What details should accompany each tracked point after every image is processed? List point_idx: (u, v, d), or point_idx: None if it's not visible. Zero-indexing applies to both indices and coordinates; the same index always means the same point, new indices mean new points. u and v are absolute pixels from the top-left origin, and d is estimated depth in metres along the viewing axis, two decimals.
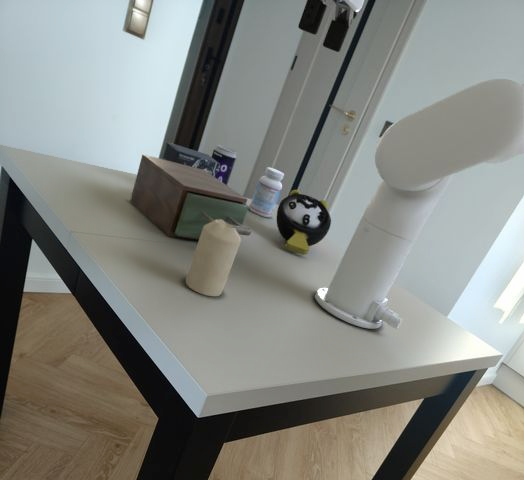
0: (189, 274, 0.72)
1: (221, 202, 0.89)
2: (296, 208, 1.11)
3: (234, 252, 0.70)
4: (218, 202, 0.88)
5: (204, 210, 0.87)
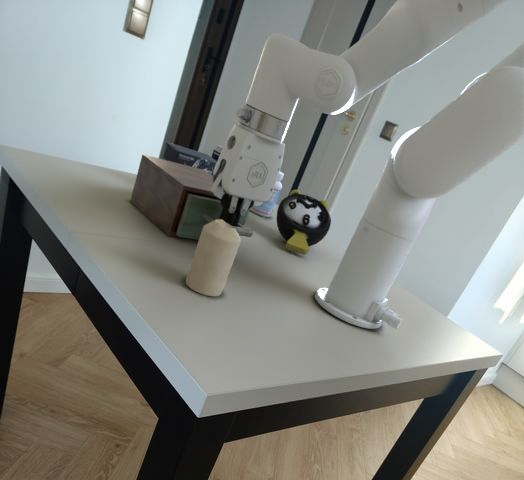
0: (189, 274, 0.72)
1: None
2: (296, 208, 1.11)
3: (234, 252, 0.70)
4: (220, 203, 0.88)
5: (206, 211, 0.87)
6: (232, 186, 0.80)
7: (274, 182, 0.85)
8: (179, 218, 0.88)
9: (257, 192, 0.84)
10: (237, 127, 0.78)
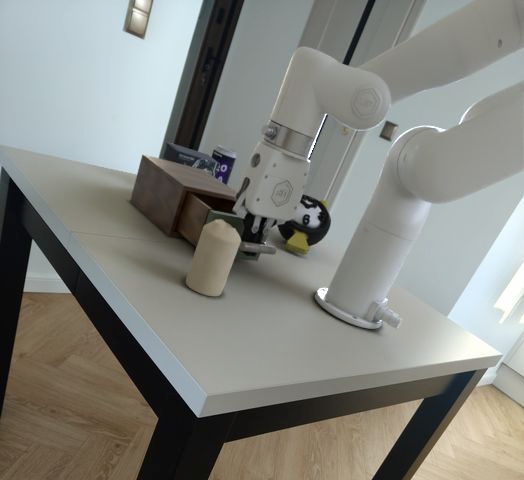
0: (189, 274, 0.72)
1: None
2: None
3: (234, 252, 0.70)
4: None
5: None
6: (256, 206, 0.76)
7: (298, 200, 0.81)
8: (199, 235, 0.84)
9: (281, 211, 0.80)
10: (262, 144, 0.74)
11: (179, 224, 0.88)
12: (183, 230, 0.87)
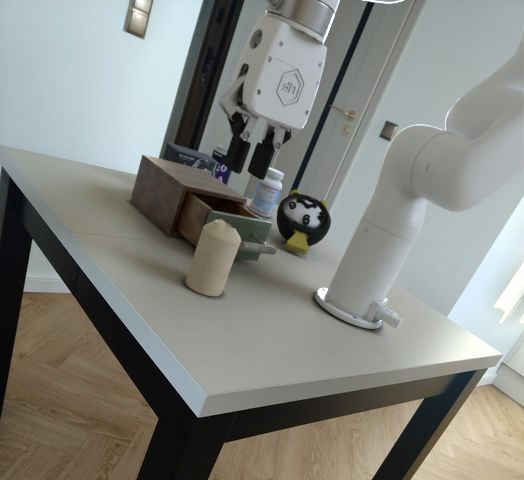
0: (189, 274, 0.72)
1: (245, 219, 0.84)
2: (296, 208, 1.11)
3: (234, 252, 0.70)
4: (242, 219, 0.84)
5: None
6: (257, 101, 0.59)
7: (311, 102, 0.63)
8: (199, 235, 0.84)
9: (289, 115, 0.62)
10: (264, 17, 0.57)
11: (179, 224, 0.88)
12: (183, 230, 0.87)
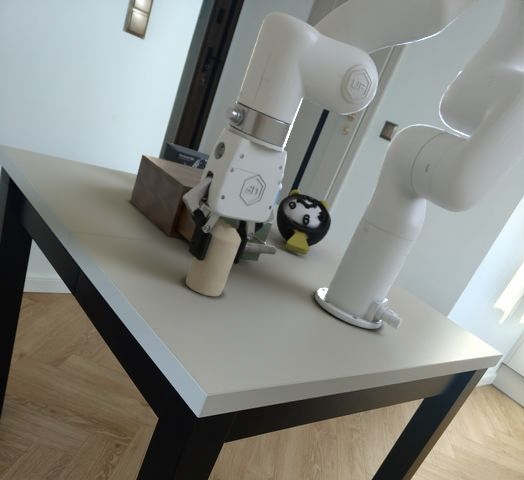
0: (189, 274, 0.72)
1: None
2: (296, 208, 1.11)
3: (234, 252, 0.70)
4: None
5: None
6: (221, 205, 0.64)
7: (273, 198, 0.69)
8: None
9: (253, 212, 0.68)
10: (227, 131, 0.62)
11: (179, 224, 0.88)
12: (183, 230, 0.87)
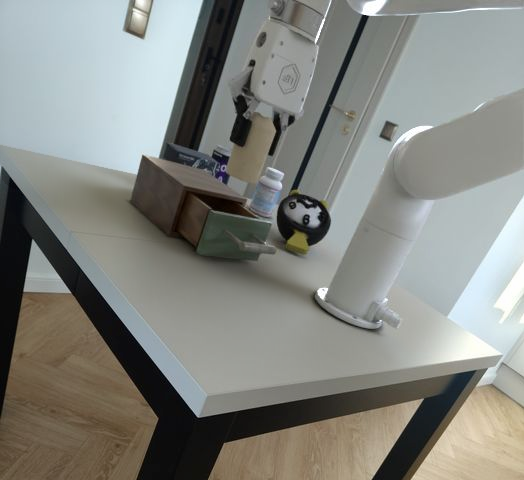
0: (229, 163, 0.80)
1: (245, 219, 0.84)
2: (296, 208, 1.11)
3: (270, 141, 0.79)
4: (242, 219, 0.84)
5: (227, 228, 0.83)
6: (262, 90, 0.73)
7: (306, 91, 0.77)
8: (199, 235, 0.84)
9: (288, 101, 0.76)
10: (268, 22, 0.70)
11: (179, 224, 0.88)
12: (183, 230, 0.87)
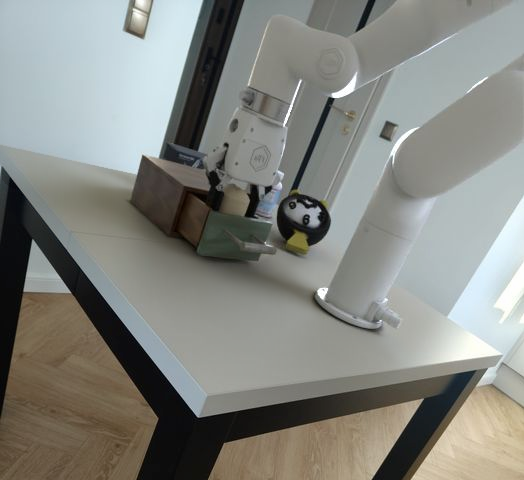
0: None
1: (245, 219, 0.84)
2: (296, 208, 1.11)
3: (244, 210, 0.86)
4: (242, 219, 0.84)
5: (227, 228, 0.83)
6: (235, 170, 0.79)
7: (277, 166, 0.84)
8: (199, 235, 0.84)
9: (260, 177, 0.83)
10: (239, 110, 0.77)
11: (179, 224, 0.88)
12: (183, 230, 0.87)
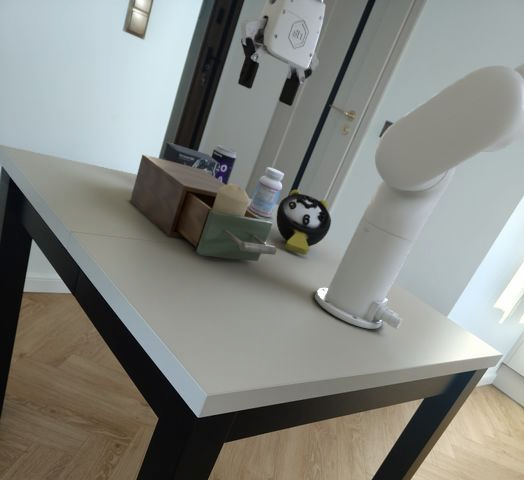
0: None
1: (245, 219, 0.84)
2: (296, 208, 1.11)
3: (244, 210, 0.86)
4: (242, 219, 0.84)
5: (227, 228, 0.83)
6: (274, 43, 0.80)
7: (313, 47, 0.85)
8: (199, 235, 0.84)
9: (297, 56, 0.84)
10: None
11: (179, 224, 0.88)
12: (183, 230, 0.87)
